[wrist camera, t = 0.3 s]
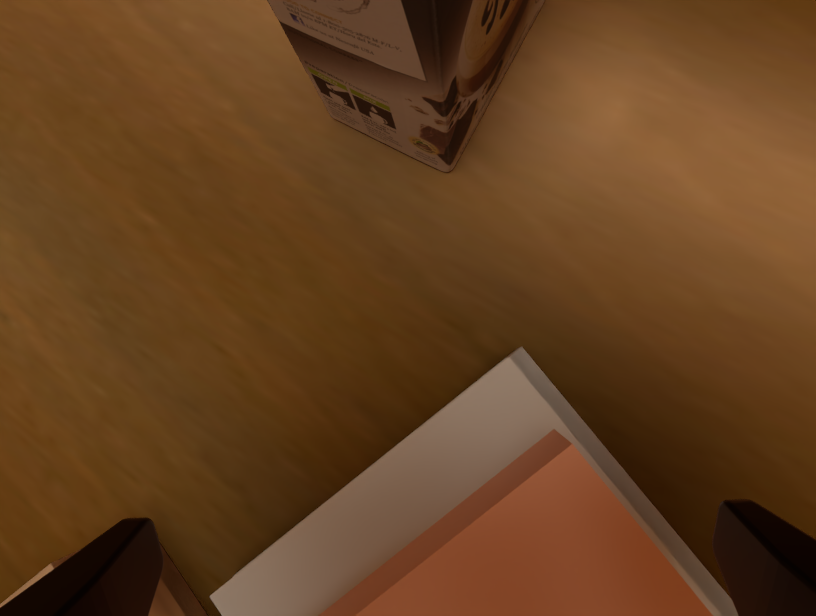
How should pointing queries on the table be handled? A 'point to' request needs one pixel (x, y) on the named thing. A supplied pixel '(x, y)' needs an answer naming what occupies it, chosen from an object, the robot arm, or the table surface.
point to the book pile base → (439, 498)
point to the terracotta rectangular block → (529, 552)
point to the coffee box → (408, 65)
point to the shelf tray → (173, 600)
